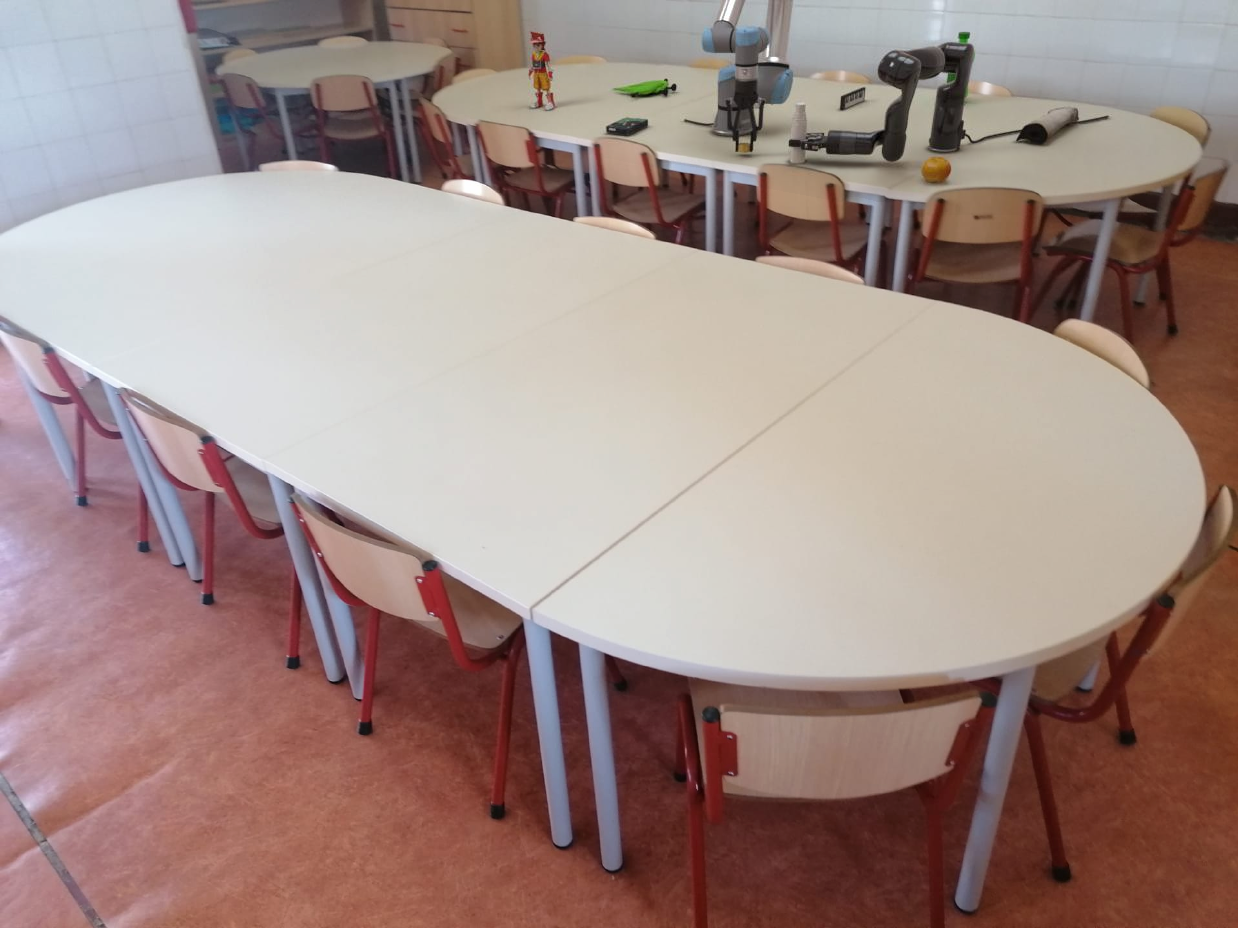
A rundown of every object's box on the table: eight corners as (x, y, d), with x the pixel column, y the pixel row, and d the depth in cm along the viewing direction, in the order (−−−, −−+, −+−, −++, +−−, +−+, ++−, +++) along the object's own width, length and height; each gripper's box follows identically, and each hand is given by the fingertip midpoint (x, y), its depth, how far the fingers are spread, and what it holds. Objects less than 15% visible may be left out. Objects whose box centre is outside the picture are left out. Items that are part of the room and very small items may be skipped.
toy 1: (525, 109, 381) (517, 32, 364) (534, 104, 388) (527, 28, 371) (550, 110, 377) (543, 32, 360) (559, 105, 384) (553, 28, 367)
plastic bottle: (973, 101, 354) (984, 32, 339) (955, 106, 349) (966, 36, 335) (952, 97, 361) (962, 29, 346) (934, 102, 356) (944, 33, 342)
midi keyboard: (842, 110, 354) (843, 96, 351) (839, 109, 354) (840, 96, 351) (864, 100, 364) (865, 87, 361) (861, 100, 365) (863, 87, 362)
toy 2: (686, 85, 398) (631, 84, 414) (685, 72, 395) (629, 72, 411) (651, 104, 381) (596, 103, 397) (650, 92, 378) (594, 91, 394)
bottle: (797, 158, 305) (800, 101, 294) (807, 161, 301) (811, 103, 291) (786, 161, 302) (789, 104, 292) (797, 164, 299) (800, 106, 288)
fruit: (915, 172, 274) (932, 149, 271) (916, 174, 282) (933, 152, 279) (938, 188, 273) (956, 164, 270) (939, 189, 281) (956, 167, 278)
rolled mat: (1045, 112, 324) (1070, 94, 316) (1059, 133, 324) (1084, 116, 316) (1011, 135, 307) (1037, 117, 298) (1026, 157, 307) (1052, 140, 299)
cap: (737, 149, 311) (737, 143, 310) (750, 148, 311) (750, 142, 310) (738, 153, 308) (738, 146, 306) (751, 152, 307) (751, 146, 306)
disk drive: (628, 136, 338) (648, 126, 348) (628, 129, 337) (648, 118, 347) (605, 134, 343) (625, 123, 353) (605, 126, 341) (625, 116, 351)
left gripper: (718, 81, 295) (717, 153, 309) (771, 81, 291) (768, 154, 305) (722, 76, 301) (721, 147, 315) (774, 76, 297) (770, 148, 310)
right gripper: (846, 125, 297) (794, 123, 302) (840, 137, 286) (787, 135, 291) (843, 148, 301) (793, 146, 306) (838, 160, 290) (785, 158, 295)
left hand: (744, 150), depth 309 cm, fingers closed on cap, 4 cm apart
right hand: (790, 141), depth 299 cm, fingers closed on bottle, 5 cm apart
